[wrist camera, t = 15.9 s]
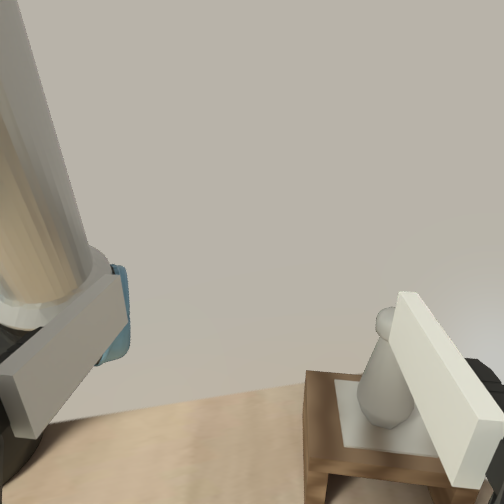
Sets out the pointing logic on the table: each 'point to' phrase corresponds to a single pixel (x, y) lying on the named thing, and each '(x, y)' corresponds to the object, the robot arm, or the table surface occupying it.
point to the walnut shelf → (366, 444)
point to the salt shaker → (384, 381)
